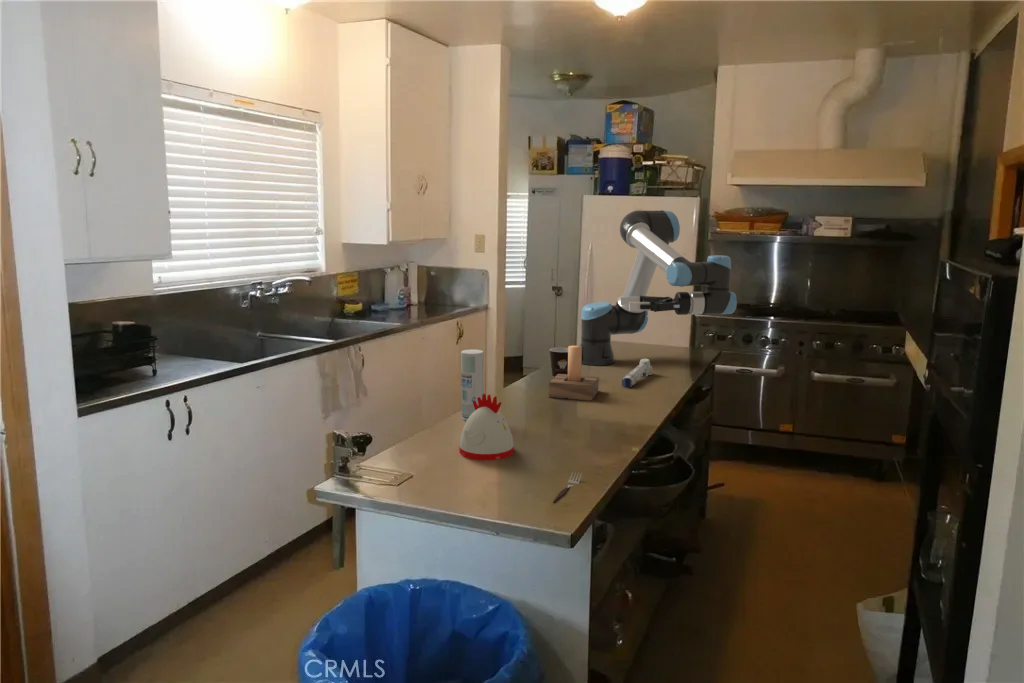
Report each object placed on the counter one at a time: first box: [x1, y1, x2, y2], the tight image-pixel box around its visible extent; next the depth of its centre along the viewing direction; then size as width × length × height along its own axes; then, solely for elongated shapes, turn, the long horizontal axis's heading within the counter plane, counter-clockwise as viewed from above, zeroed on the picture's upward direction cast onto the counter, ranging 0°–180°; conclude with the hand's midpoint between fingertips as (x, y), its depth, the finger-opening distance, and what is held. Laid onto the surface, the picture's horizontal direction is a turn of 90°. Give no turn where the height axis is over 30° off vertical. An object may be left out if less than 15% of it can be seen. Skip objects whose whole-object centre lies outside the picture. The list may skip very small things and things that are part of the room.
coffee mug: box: [549, 347, 583, 377], centre depth 272 cm, size 12×9×10 cm
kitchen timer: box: [458, 393, 515, 461], centre depth 190 cm, size 14×14×15 cm
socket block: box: [548, 374, 599, 401], centre depth 248 cm, size 13×14×5 cm
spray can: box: [460, 349, 485, 422], centre depth 218 cm, size 6×6×20 cm
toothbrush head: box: [620, 358, 653, 388], centre depth 268 cm, size 5×7×25 cm
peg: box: [567, 345, 582, 382], centre depth 247 cm, size 4×4×16 cm
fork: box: [552, 471, 583, 503], centre depth 165 cm, size 3×16×2 cm, turn 157°
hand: (624, 303), depth 246 cm, fingers open, 13 cm apart
